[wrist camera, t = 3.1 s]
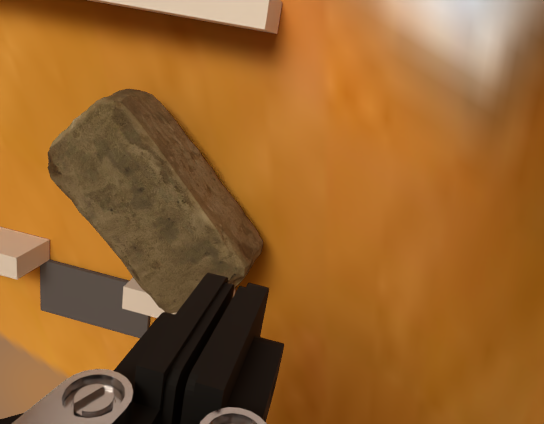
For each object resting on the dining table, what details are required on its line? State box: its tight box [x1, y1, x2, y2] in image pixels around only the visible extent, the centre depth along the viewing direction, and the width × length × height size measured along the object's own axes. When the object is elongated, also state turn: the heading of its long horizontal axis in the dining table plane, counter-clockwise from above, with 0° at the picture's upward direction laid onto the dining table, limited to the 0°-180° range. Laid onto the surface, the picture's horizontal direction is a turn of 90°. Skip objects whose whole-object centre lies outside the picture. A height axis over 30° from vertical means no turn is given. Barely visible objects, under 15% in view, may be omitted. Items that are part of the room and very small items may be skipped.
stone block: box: [48, 89, 263, 313], centre depth 23 cm, size 6×12×5 cm, turn 36°
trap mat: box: [40, 260, 150, 338], centre depth 30 cm, size 8×4×1 cm, turn 80°
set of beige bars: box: [0, 0, 282, 318], centre depth 25 cm, size 22×18×3 cm
